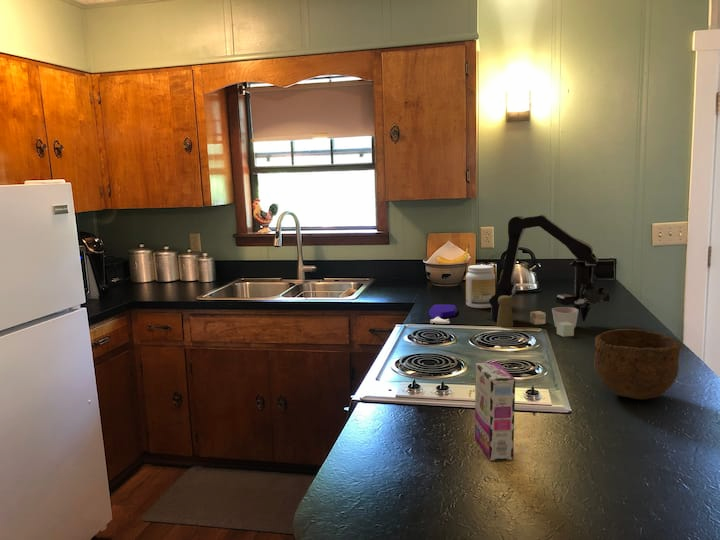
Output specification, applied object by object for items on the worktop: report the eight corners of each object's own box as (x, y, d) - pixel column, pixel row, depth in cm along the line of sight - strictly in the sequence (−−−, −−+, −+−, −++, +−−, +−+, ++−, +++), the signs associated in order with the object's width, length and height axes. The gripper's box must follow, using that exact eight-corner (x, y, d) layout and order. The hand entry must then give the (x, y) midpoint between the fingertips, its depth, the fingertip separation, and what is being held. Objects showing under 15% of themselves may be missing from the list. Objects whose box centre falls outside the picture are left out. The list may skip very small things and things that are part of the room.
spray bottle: (431, 303, 246) (423, 318, 223) (458, 304, 244) (453, 319, 220) (431, 310, 247) (424, 325, 223) (458, 311, 244) (453, 326, 221)
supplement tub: (501, 306, 250) (501, 266, 248) (480, 310, 243) (480, 269, 241) (480, 301, 260) (480, 263, 258) (459, 305, 253) (459, 266, 251)
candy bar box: (515, 460, 114) (516, 378, 111) (489, 462, 113) (490, 380, 111) (497, 436, 125) (497, 360, 122) (473, 437, 124) (474, 362, 122)
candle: (567, 322, 218) (568, 306, 217) (583, 328, 210) (584, 310, 209) (546, 325, 216) (546, 308, 215) (562, 331, 207) (562, 313, 206)
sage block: (556, 334, 204) (556, 322, 204) (567, 333, 205) (567, 321, 205) (563, 336, 201) (563, 325, 200) (573, 335, 201) (574, 324, 201)
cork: (513, 327, 214) (514, 297, 213) (496, 327, 215) (497, 297, 214) (513, 323, 220) (513, 294, 218) (496, 323, 221) (496, 294, 220)
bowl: (674, 417, 132) (677, 352, 130) (585, 402, 142) (587, 342, 140) (680, 391, 148) (684, 333, 145) (600, 379, 157) (602, 324, 155)
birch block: (530, 322, 222) (530, 311, 221) (539, 321, 223) (539, 311, 222) (535, 324, 218) (535, 314, 217) (545, 323, 219) (545, 313, 218)
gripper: (573, 284, 202) (572, 328, 204) (621, 280, 206) (619, 323, 209) (555, 279, 213) (554, 321, 215) (600, 275, 217) (600, 317, 219)
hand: (582, 321), depth 214 cm, fingers closed
